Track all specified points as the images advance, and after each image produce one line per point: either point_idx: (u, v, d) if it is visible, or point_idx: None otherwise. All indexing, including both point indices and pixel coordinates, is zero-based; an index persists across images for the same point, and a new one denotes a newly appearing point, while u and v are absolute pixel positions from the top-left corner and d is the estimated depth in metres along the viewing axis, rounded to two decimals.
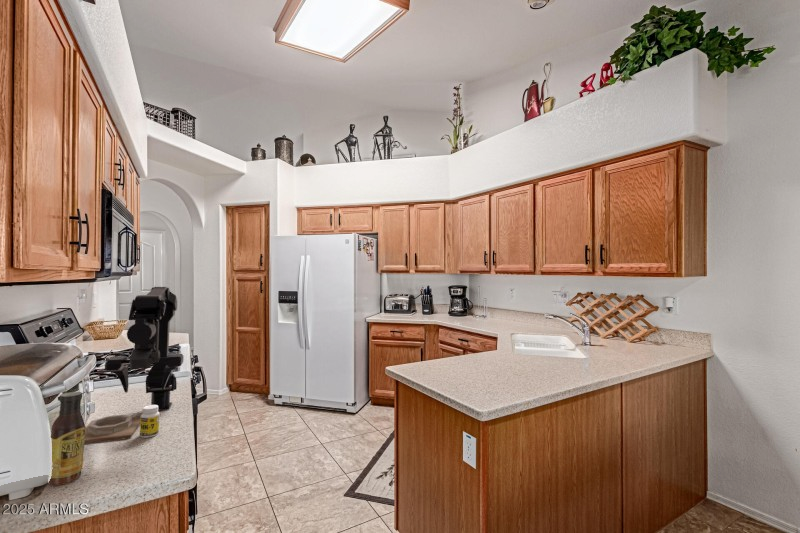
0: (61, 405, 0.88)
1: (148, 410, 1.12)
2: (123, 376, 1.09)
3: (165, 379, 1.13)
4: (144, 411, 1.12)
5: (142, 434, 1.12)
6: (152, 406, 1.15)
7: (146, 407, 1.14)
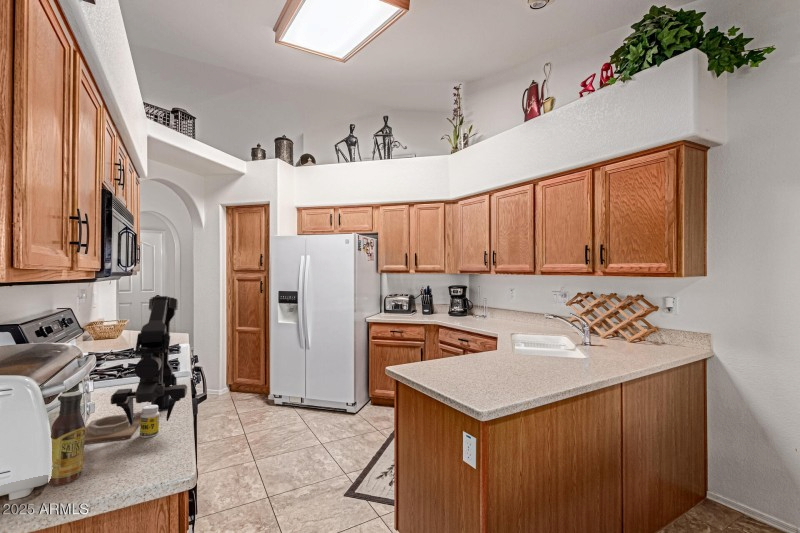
0: (61, 405, 0.88)
1: (148, 410, 1.12)
2: (128, 409, 1.11)
3: (169, 411, 1.15)
4: (144, 411, 1.12)
5: (142, 434, 1.12)
6: (152, 406, 1.15)
7: (146, 407, 1.14)
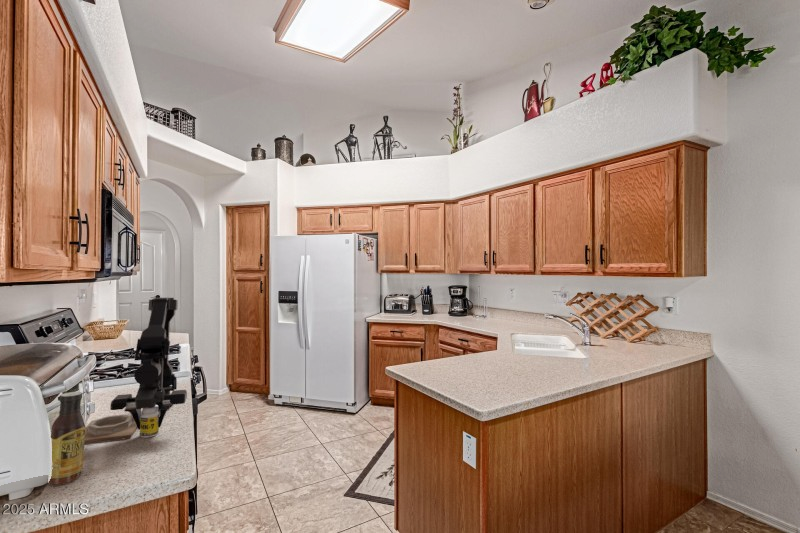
0: (61, 405, 0.88)
1: (148, 410, 1.12)
2: (136, 414, 1.12)
3: (161, 417, 1.15)
4: (144, 411, 1.12)
5: (142, 434, 1.12)
6: None
7: None
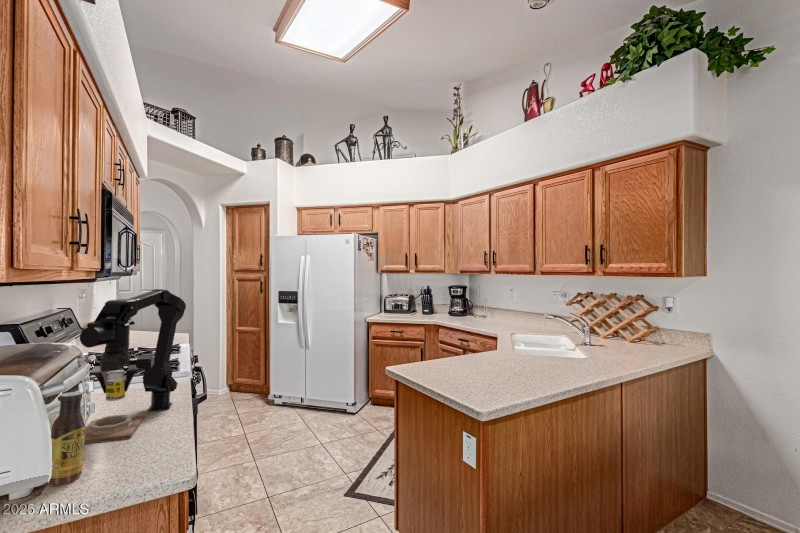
0: (61, 405, 0.88)
1: (113, 374, 1.15)
2: (102, 378, 1.14)
3: (127, 381, 1.17)
4: (109, 375, 1.14)
5: (108, 397, 1.14)
6: (117, 371, 1.17)
7: (112, 372, 1.16)
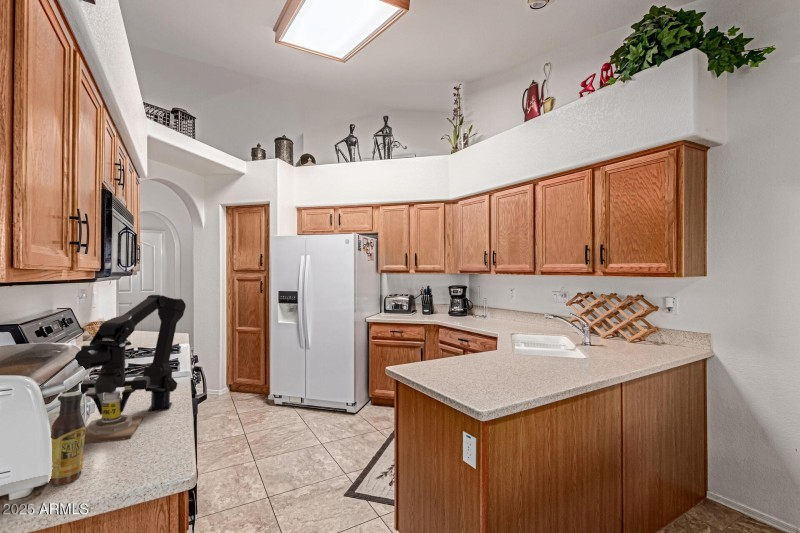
0: (61, 405, 0.88)
1: (109, 395, 1.15)
2: (98, 399, 1.14)
3: (123, 402, 1.17)
4: (105, 396, 1.15)
5: (104, 419, 1.14)
6: (113, 392, 1.17)
7: (107, 393, 1.16)
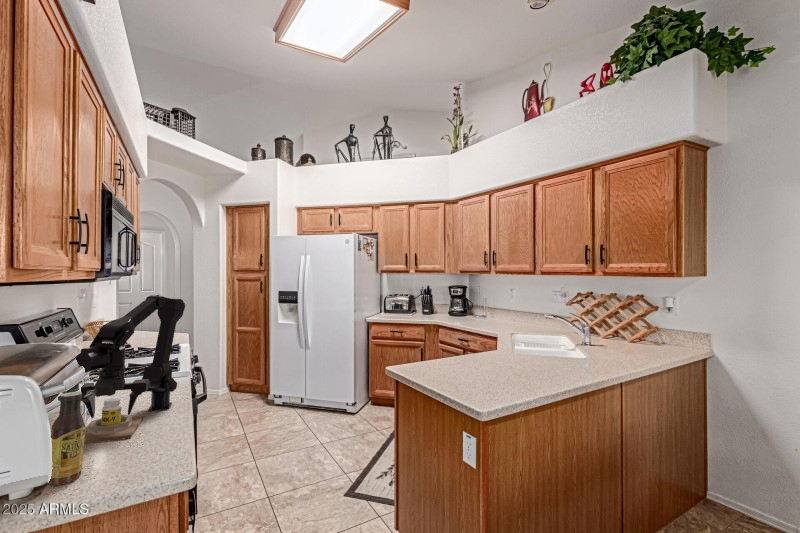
0: (61, 405, 0.88)
1: (109, 403, 1.15)
2: (89, 402, 1.13)
3: (131, 404, 1.17)
4: (105, 404, 1.15)
5: None
6: (113, 399, 1.17)
7: (108, 400, 1.16)
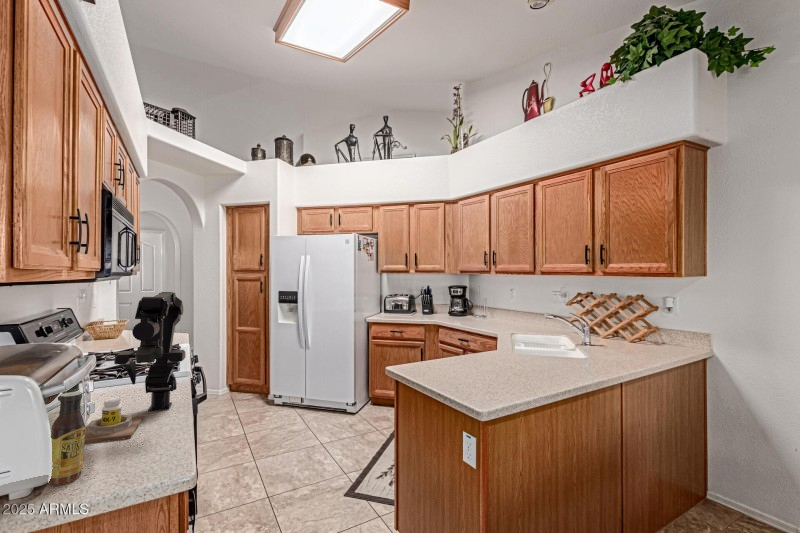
0: (61, 405, 0.88)
1: (109, 403, 1.15)
2: (131, 369, 1.20)
3: (168, 373, 1.24)
4: (105, 404, 1.15)
5: None
6: (114, 399, 1.17)
7: (108, 400, 1.16)
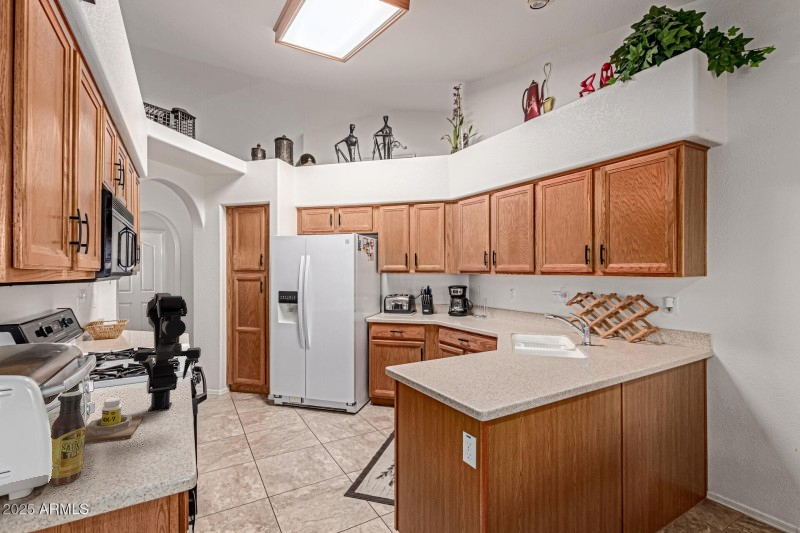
0: (61, 405, 0.88)
1: (109, 403, 1.15)
2: (149, 367, 1.23)
3: (185, 370, 1.28)
4: (105, 404, 1.15)
5: None
6: (114, 399, 1.17)
7: (108, 400, 1.16)
